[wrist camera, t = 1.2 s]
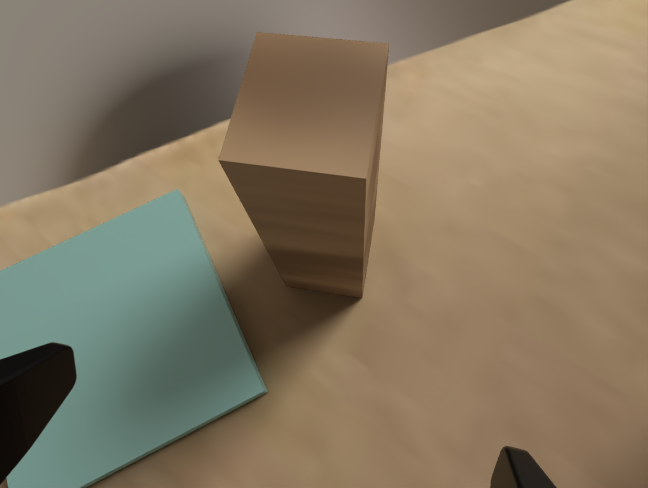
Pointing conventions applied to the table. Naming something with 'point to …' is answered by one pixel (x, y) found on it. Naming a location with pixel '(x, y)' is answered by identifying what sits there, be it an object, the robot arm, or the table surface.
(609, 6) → the table surface
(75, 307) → the teal board
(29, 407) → the robot arm
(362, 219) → the walnut block
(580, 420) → the table surface
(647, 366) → the table surface
